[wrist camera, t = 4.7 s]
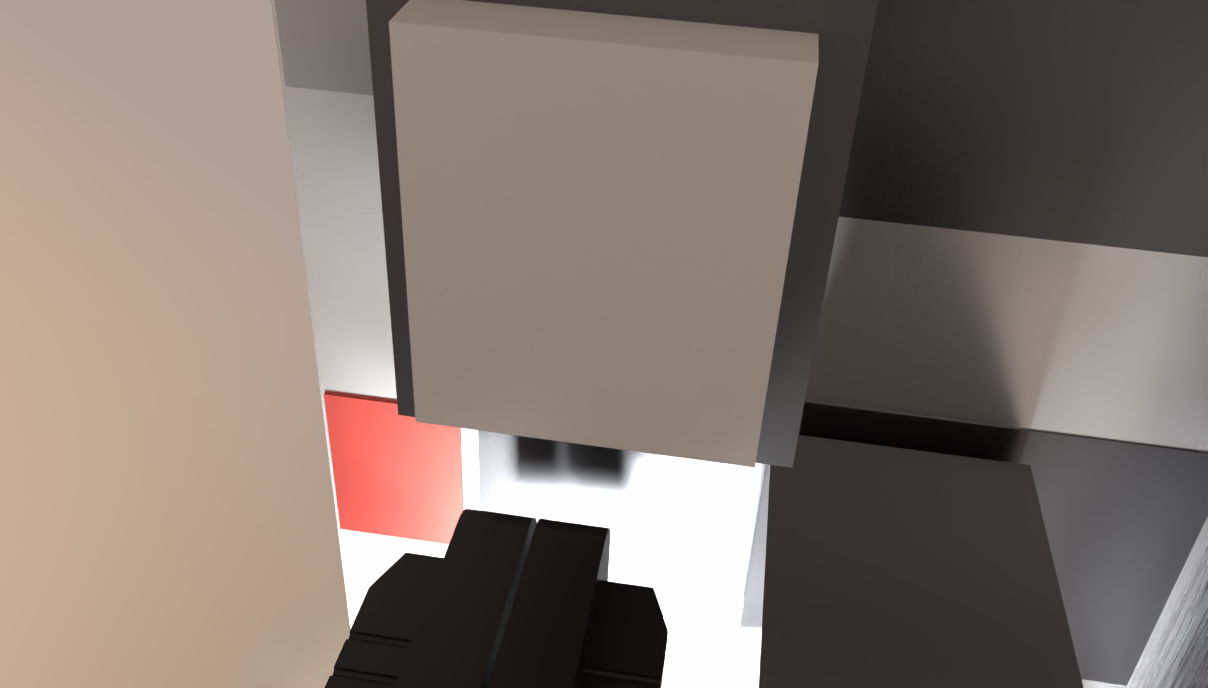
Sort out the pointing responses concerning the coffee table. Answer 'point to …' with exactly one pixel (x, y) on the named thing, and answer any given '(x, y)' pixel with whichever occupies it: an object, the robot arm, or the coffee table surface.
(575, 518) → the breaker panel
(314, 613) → the coffee table surface
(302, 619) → the coffee table surface
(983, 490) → the toggle
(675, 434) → the toggle
